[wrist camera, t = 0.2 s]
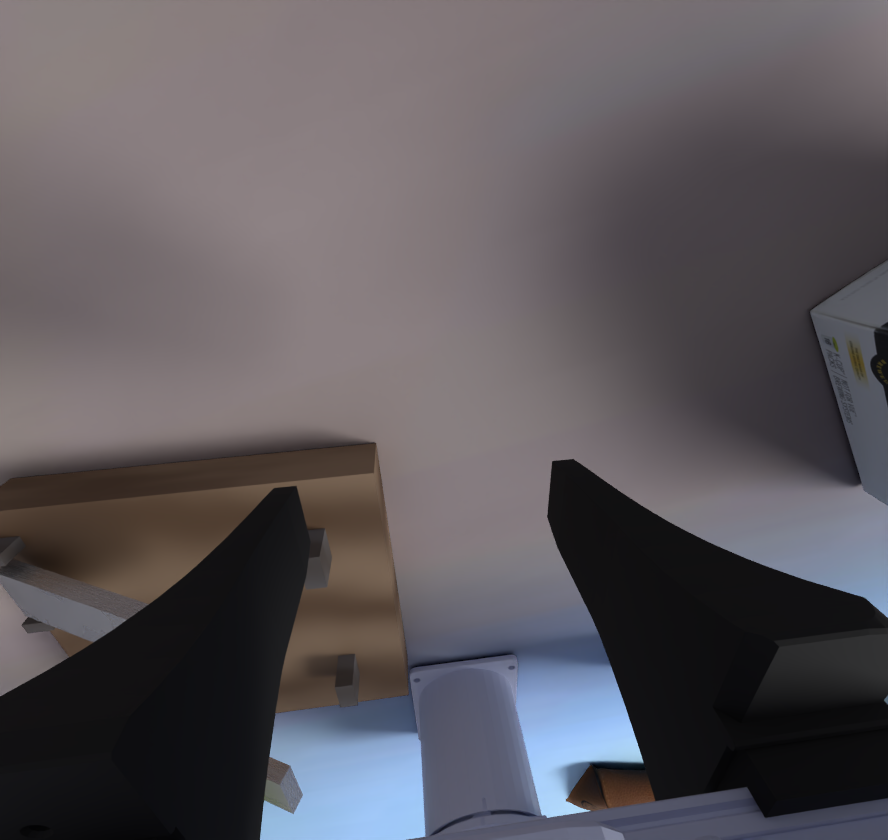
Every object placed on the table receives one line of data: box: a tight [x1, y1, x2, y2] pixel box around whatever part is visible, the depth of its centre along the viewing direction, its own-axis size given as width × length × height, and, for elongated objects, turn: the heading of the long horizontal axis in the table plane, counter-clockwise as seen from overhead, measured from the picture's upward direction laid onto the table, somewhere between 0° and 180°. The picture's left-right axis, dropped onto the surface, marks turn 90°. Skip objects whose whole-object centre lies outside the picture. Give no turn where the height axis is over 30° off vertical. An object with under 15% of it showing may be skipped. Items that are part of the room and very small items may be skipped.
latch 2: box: [264, 757, 303, 814], centre depth 23 cm, size 3×13×1 cm, turn 93°
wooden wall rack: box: [0, 443, 409, 713], centre depth 24 cm, size 18×18×5 cm
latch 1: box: [0, 559, 148, 642], centre depth 19 cm, size 3×13×1 cm, turn 93°
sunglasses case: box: [566, 764, 655, 811], centre depth 44 cm, size 18×7×7 cm
